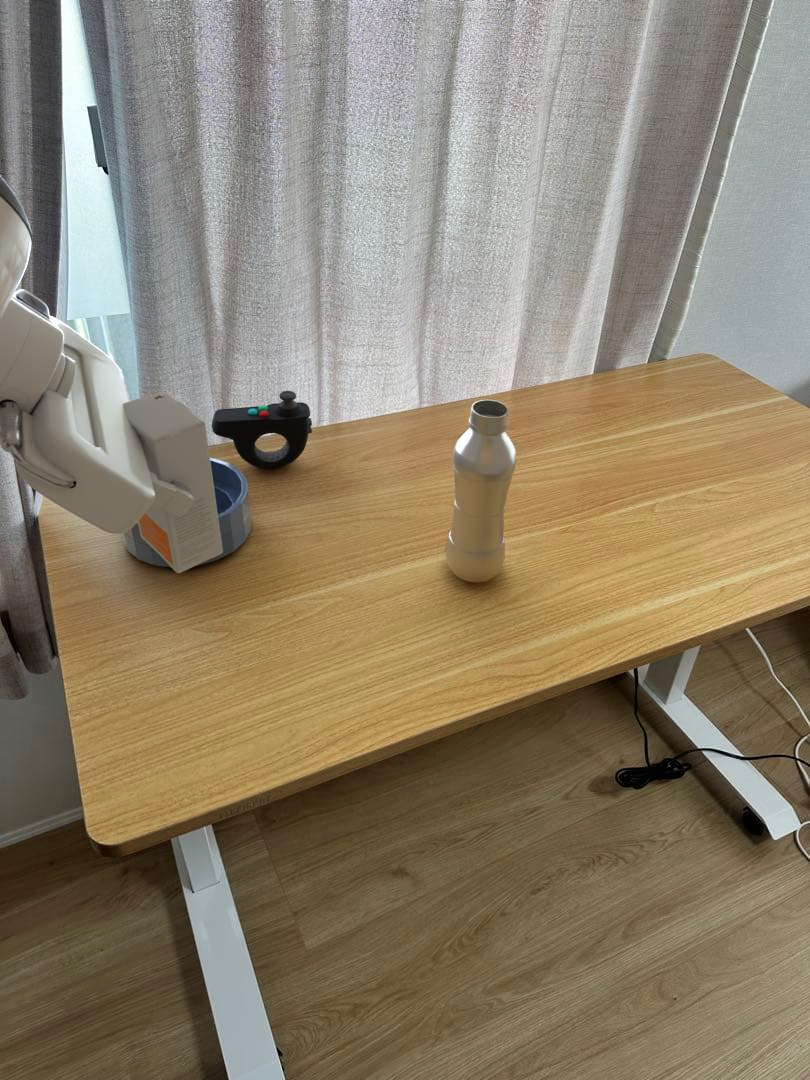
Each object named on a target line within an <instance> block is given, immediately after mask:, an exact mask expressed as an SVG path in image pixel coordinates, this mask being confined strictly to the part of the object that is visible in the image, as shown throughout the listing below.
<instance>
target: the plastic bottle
mask: <svg viewBox="0 0 810 1080" xmlns="http://www.w3.org/2000/svg"><path fill="white" fill-rule="evenodd" d="M509 410H510V409H509V408H508V405H506V404H505V403H503V402H501V401H498V400H495V399H480V400H477V401H475V402H473V403H472V405H471V407H470V416H469V417H468V427H469V428H468V429H467V430H466V431H465V432H464V433H463V434H462V435H461V436H460V437H459V438H458V440H457V441H456V442H455V445H454V448H453V450H452V468H453V480H454V509H453V513H452V514H453V515H452V520H451V526H450V531H449V533H448V535H447V539H446V542H445V547H444V549H445V550H444V552H445V560H446V564H447V566H448V569H449V570H450V571H451V572H452V573H453V574H454V576H456V577H457V578H459V579H460V580H462V581H466V582H469V583H483V582H484V583H485V582H488V581H490V580H491V579H493V578H494V577H496V576H497V575H498V574H499V573H500V572H501V570H502V567H503V565H504V561H505V559H506V541H505V537H504V536H505V534H504V533H505V532H504V531H505V530H504V529H505V528H504V527H505V512H506V505H507V501H508V497H509V491H510V487H511V484H512V481H513V478H514V477H513V476H514V474H515V470H516V466H517V462H518V456H517V451H516V448H515V446H514V444H513V441H512V439H511V438H510V437H509V435H508V433H507V432H506V431H507V430H508V428H509V414H510V412H509Z"/></svg>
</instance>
